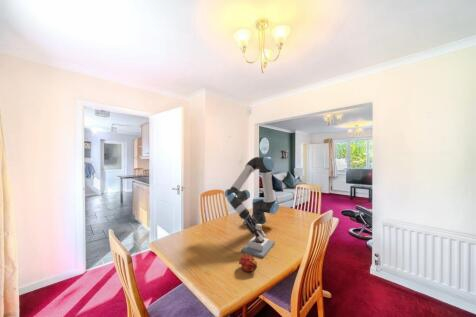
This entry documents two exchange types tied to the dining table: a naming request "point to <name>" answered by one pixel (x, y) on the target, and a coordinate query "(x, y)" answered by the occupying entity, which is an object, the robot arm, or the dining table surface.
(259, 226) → the cream round-topped cylinder
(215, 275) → the dining table surface
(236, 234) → the dining table surface
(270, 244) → the socket board
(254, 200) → the robot arm
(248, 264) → the dragon fruit
